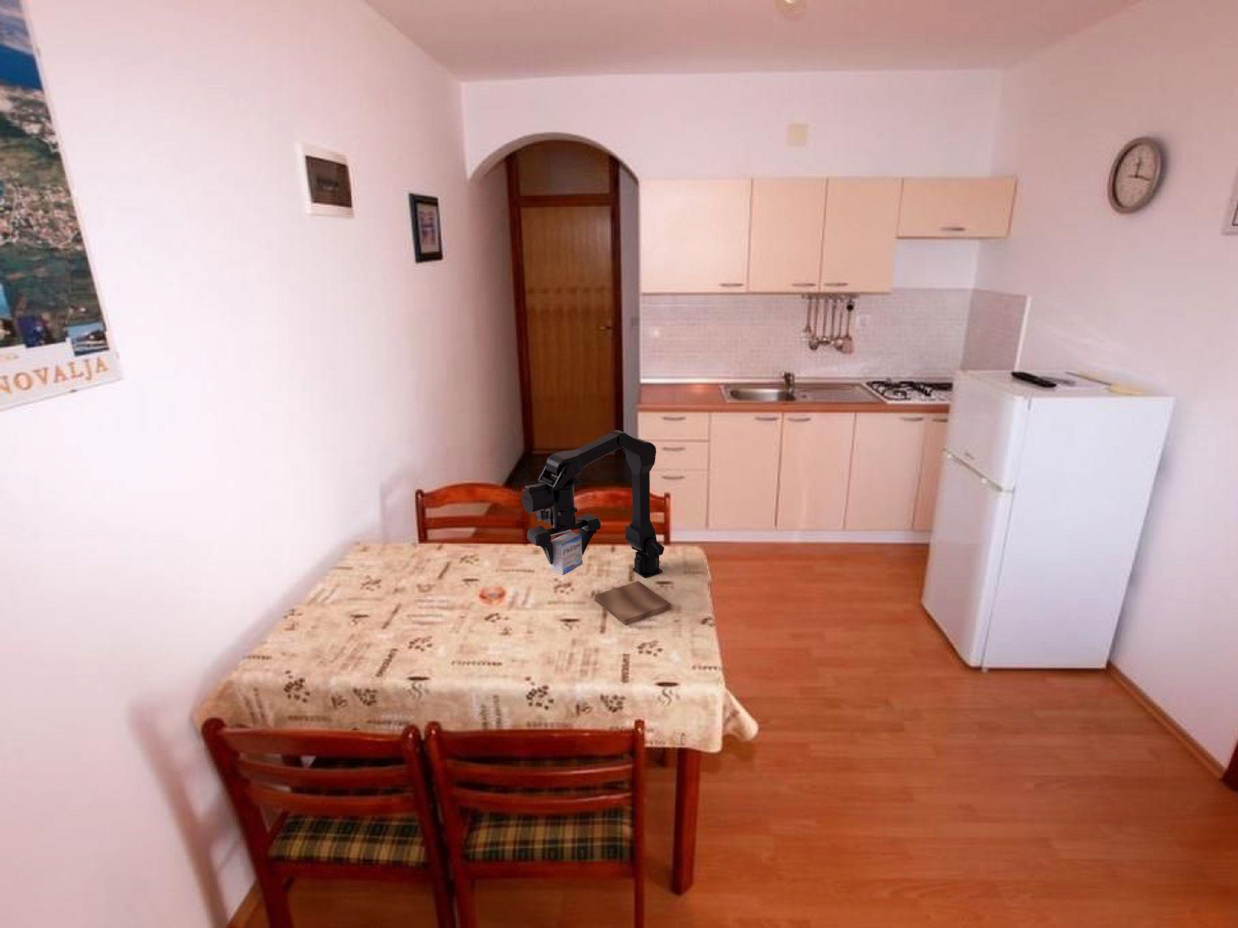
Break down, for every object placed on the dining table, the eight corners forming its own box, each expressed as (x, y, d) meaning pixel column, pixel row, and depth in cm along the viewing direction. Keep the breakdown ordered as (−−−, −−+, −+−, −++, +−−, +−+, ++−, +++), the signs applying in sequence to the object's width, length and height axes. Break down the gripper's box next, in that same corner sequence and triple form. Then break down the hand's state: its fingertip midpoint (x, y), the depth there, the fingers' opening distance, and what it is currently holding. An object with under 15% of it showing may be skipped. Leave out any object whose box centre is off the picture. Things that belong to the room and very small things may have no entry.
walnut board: (638, 585, 182) (638, 580, 181) (670, 608, 170) (670, 603, 169) (594, 600, 175) (594, 595, 174) (625, 625, 163) (625, 619, 162)
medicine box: (563, 576, 167) (561, 545, 165) (550, 571, 170) (548, 540, 167) (583, 564, 173) (581, 534, 170) (570, 560, 176) (568, 530, 173)
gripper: (579, 486, 177) (582, 539, 182) (516, 502, 168) (520, 557, 173) (601, 498, 168) (603, 554, 173) (535, 515, 159) (539, 573, 164)
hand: (566, 559), depth 171 cm, fingers closed on medicine box, 9 cm apart
